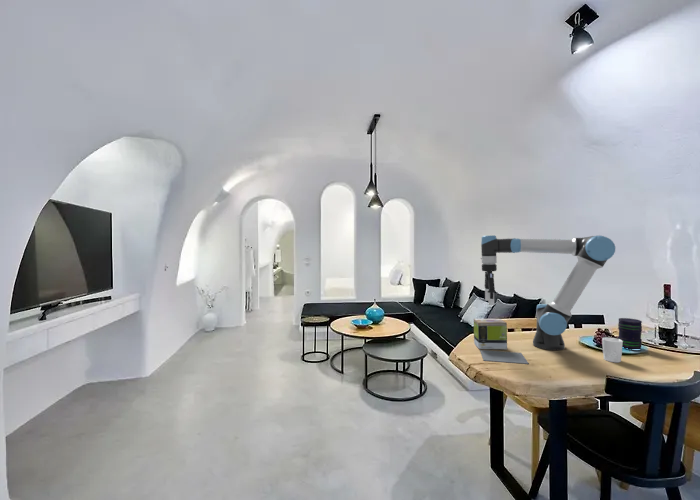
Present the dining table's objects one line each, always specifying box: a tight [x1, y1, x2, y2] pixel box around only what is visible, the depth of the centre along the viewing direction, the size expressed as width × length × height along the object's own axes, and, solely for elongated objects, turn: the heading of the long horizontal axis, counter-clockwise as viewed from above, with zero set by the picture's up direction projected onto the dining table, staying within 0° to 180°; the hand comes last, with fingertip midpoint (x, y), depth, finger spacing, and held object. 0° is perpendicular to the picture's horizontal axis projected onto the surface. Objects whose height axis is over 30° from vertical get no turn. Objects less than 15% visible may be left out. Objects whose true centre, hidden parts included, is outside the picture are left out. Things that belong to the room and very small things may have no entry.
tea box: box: [473, 318, 508, 350], centre depth 189 cm, size 15×10×15 cm
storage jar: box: [617, 317, 643, 350], centre depth 185 cm, size 10×10×15 cm
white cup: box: [601, 336, 623, 363], centre depth 166 cm, size 8×8×10 cm
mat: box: [479, 349, 530, 365], centre depth 172 cm, size 20×16×1 cm
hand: (489, 302), depth 188 cm, fingers open, 13 cm apart
